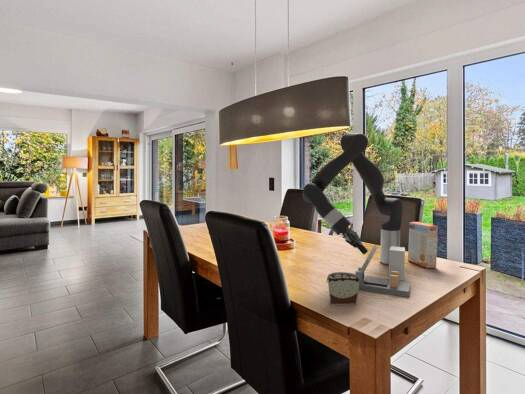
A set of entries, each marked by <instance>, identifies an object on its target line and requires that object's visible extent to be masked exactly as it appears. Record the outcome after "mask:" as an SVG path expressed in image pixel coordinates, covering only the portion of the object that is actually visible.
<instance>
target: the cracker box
mask: <svg viewBox="0 0 525 394" xmlns="http://www.w3.org/2000/svg"><path fill="white" fill-rule="evenodd" d="M408 223H409V227H408V249H407V250H408V251H407V261H408V262H409V261H411V262H413V263H412V264H414V263H415V264H414V265H417V264H418V265H417V266H419V265H420V267H421V268H424V267H425V269H435V268H434V267H436V268H437V255H438V235H439V231H438V229H439V226H438V225H435V224H431V223H426V222H421V221H411V222H410V221H409V222H408ZM411 262H410V263H411Z"/></svg>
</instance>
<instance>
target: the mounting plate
mask: <svg viewBox="0 0 525 394" xmlns="http://www.w3.org/2000/svg"><path fill="white" fill-rule="evenodd" d="M361 268H362V266H359V267H357V270H355V274H356V275H358V276H360V278H361V282H360V283H359V290H360V291H366V292H367V291H368V292H373V293H380V294H386V295H387V294H388V295H393V296H394V295H395V296H400V297H407V298H409V297H410V291H411V281H406V280H404V281H402V280H399V272H397V271H392V272H391V275H390V279H389V278H385V277H377V276H370V275H365V272H364V273H363V276H362V271H360V270H361ZM359 290H358V291H359Z"/></svg>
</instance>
